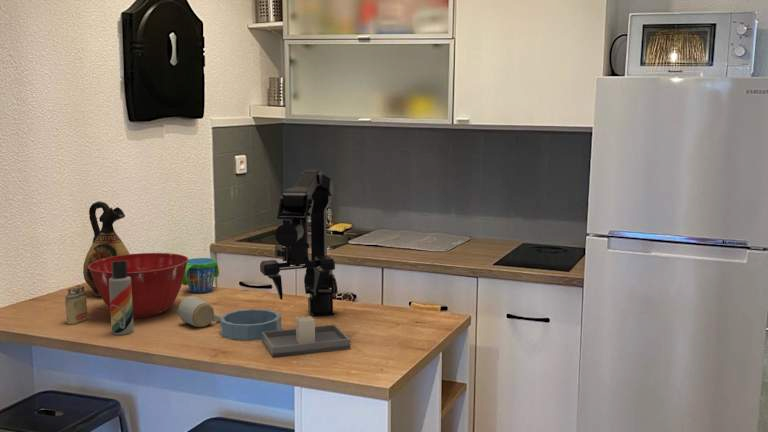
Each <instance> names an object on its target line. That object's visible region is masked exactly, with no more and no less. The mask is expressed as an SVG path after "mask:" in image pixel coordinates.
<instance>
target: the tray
mask: <svg viewBox="0 0 768 432" xmlns="http://www.w3.org/2000/svg"><path fill="white" fill-rule="evenodd" d="M261 334H262V339H261V343H262V344H263V345H264V347H265V348H266V349H267V351H268V353H269V354H270V355H271V357H272V358H280V357H281V358H282V357H289V356H297V355H306V354H307V355H308V354H316V353H318V354H319V353H325V352H333V351H335V352H336V351H343V350H351V338H349V336H348V335H346V334H345V333H344V332H343V330H341V329H340V328H339V327H338V326H337V325H336V324H328V325H317V326H316V325H315V342H314V343H305V344H299V343H298V341H297V340H296V328H287V329H281V330H277V331H267V332H261Z"/></svg>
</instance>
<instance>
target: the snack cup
mask: <svg viewBox="0 0 768 432" xmlns="http://www.w3.org/2000/svg"><path fill="white" fill-rule="evenodd" d="M219 276H220V270H219V266H218V262H217V260H216V259H214V258H211V257H196V258H190V259H189V258H188V261H187V265H186V270H185V274H184V278H183V282H182V285H183V286H188V290H189V291H190V292H191V293H193V294H195V293H196V294H202V293H209V292H212V291H213V287H214V280H215V277H216V278H218V277H219Z"/></svg>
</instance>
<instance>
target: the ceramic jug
mask: <svg viewBox="0 0 768 432" xmlns="http://www.w3.org/2000/svg"><path fill="white" fill-rule="evenodd" d="M98 209H102V211H103V212H102V213H101V214H100V216H99V221H98V218H97V213H96V212H97V210H98ZM88 214H89V221H90V224H91V226H92V230H93V234H94V235H93V239H92V243H91V246H90V248H89V250H88V251H87V254H86V256H85V258H84V262H83V272H82V273H83V279H84V281H85V283H86V284H87V285H88V286H89V288H91V289H92V291H93V292H92V294H93V295H95V296H96V297H100V298H102V297H101V295H100V294H99V292H98V290H97V288H96V285H95V283H94V280H93V278H92V275H91V272H90V269H89V268H88V265H89V264H90V263H92V262H94V261H97V260H100V259H104V258H108V257H113V256H120V255H128V254H130V251H129V250H128V248H127V247H126V245H125V244H124V242H123V240H122V239H121V238H120V236H118V233H116V231H115V229H114V223H115V222H116V221H119V220H121V219H124V218H125V217H126V215H125V213H124V211H123V210H122V209H121V208H120V207H119V206H116V207H115V208H113V207H110V206H109V205H108V203H107V202H106V203H105V202H103V201H101V200H98V201H95V202H93V203H92V204H91V205H90V207H89V210H88ZM98 222H100V223H102V225H101V228H100V225H99V223H98Z"/></svg>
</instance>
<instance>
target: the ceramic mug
mask: <svg viewBox="0 0 768 432" xmlns="http://www.w3.org/2000/svg"><path fill="white" fill-rule="evenodd" d="M177 308H178V309H177V313H178V317H179V319H180V320H181V321H182V322H184V323H185V324H188V325H191V326H193V327H196V328H205V327H208V325H210V324H211V323H212V322H216V323H218V322H219V323H220V317H221V316H219V315H217V314H215V312H214V308H213V306H212V305H211V304H210V303H208V302H207V301H205V300H202V299H200V298H199V297H197V296H194V295H193V296H191V295H190V296H189V295H188V296H186V297H184V298H183V299H182V300H181V302H180V303H179V305H178V307H177Z"/></svg>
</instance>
